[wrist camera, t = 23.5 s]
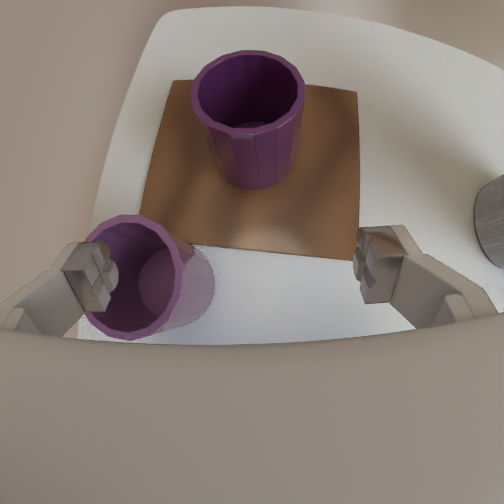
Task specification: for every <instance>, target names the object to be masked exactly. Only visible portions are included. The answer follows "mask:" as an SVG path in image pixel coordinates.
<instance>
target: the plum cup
mask: <svg viewBox="0 0 504 504" xmlns="http://www.w3.org/2000/svg"><path fill="white" fill-rule="evenodd" d="M190 99H191V103H192V106H193V109H194V113H195V115H196V118H197V120H198V122H199V125H200V127H201V130H202V132H203V135H204V137H205V139H206V142H207V144H208V147H209V149H210V152H211V154H212V156H213V159H214V161H215V164H216V166H217V168H218V170H219V171H220V173H221V174H222V176H223V177H224V178H225V179H226V180H227V181H228V182H230V183H231V184H233V185H235V186H237V187H240V188H243V189H248V190H261V189H266V188H269V187H272V186H274V185H276V184H278V183H279V182H281V181H282V180H283V179H284V178H285V177H286V176H287V175H288V174H289V172H290V171H291V169H292V167H293V164H294V161H295V158H296V152H297V146H298V140H299V134H300V128H301V121H302V115H303V109H304V102H305V82H304V80H303V78H302V77H301V75H300V73H299V71H298V70H297V68H296V67H295V66H294V65H292V64H291V63H290V62H288V61H287V60H285V59H284V58H283V57H281V56H278V55H275V54H272V53H269V52H265V51H257V50H242V51H237V52H233V53H230V54H226V55H222V56H220V57H219V58H217V59H215V60H214V61H212V62H211V63H209V64H207V65H206V66H205V67H204V68H203V69H202V70H201V72H200V73H199V74H198V75H197V77H196V78H195V79H194V81H193V85H192V90H191V94H190Z"/></svg>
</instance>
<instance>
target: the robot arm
mask: <svg viewBox="0 0 504 504" xmlns="http://www.w3.org/2000/svg"><path fill="white" fill-rule="evenodd" d="M356 240H357V243H358V245H359V246H358V247H357V248H356V249H355V250H354V256H353V269H354V274H355V277H356V279H357V280H358V281H360V282H361V285H360V291H361V294H362V297H363V300H364V303H365V304H374V303H388V302H390V304H391V305H392V306H393V307H394V308H395V309H396V310H397V311H398V312H399V313H401V314H402V315H403V316H404V317H405V318H406V319H407V320H408V321H409V322H410V323H411V324H412V325H413V326H414V327H415V328H416V329H415V330H408V331H401V332H394V333H387V334H379V335H371V336H363V337H354V338H344V339H333V340H321V341H307V342H291V343H271V344H241V345H170V344H142V343H124V342H109V341H96V340H85V339H73V338H65V337H62V336H63V335H64V334H65V333H66V332H67V331H68V330H69V329H70V328H71V327H72V326H73V325H74V324H75V323H76V322H77V321H78V320H79V319H80V317H81V316H82V315H83V314H84V313H85V312H105V311H106V308H107V306H108V304H109V302H110V299H111V296H110V292H112V291H113V290H114V289H115V288H116V286H117V283H118V276H119V273H118V268H117V265H116V262H115V261H114V260H113V259H111V258H110V254H111V250H110V247H109V245H108V243H106V242H105V241H96V242H81V243H80V242H77V243H70V244H67V246H66V247H65V249H64V250H63V251H62V253H61V254H60V255H59V257H58V258H57V259H56V261H55V263H54V264H53V265H52V267H51V268H50V269H49V271H45V272H44V273H42V274H41V275H39V276H38V277H36V278H35V279H34V280H32V281H31V282H29V283H28V284H27V285H25V286H24V287H22V288H21V289H20V290H18V291H17V292H15V293H14V294H13V295H12V296H10V297H9V298H7V299H6V300H5V301H3V302H2V303H1V304H0V504H504V312H503V313H498V311H497V310H496V308H495V306H494V305H493V303H492V301H491V300H490V298H489V297H488V295H487V293H486V292H485V290H484V289H483V288H482V287H480V286H478V285H477V284H475V283H474V282H472V281H471V280H469V279H467V278H466V277H464V276H463V275H461V274H459V273H458V272H456V271H455V270H453V269H451V268H450V267H448V266H446V265H445V264H443V263H441V262H440V261H438V260H436V259H435V258H433V257H431V256H430V255H428V254H423V253H422V252H421V250H420V249H419V247H418V246H417V244H416V242H415V241H414V239H413V238H412V236H411V235H410V234H409V232H408V231H407V229H406V228H405V226H403V225H392V226H377V227H360V228H358V231H357V235H356Z"/></svg>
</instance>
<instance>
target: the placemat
mask: <svg viewBox="0 0 504 504" xmlns="http://www.w3.org/2000/svg"><path fill="white" fill-rule="evenodd" d="M193 81H194V80H175V81H173V83H172V86H171V90H170V93H169V96H168V99H167V103H166V106H165V109H164V113H163V116H162V120H161V124H160V127H159V131H158V135H157V139H156V142H155V146H154V150H153V154H152V159H151V163H150V167H149V171H148V176H147V180H146V185H145V190H144V195H143V199H142V205H141V210H140V215H142V216H145V217H146V218H148V219H150V220H152V221H154V222H156V223H158V224H160V225H162V226H163V227H165V228H166V229H168V230H169V231H171V232H172V233H174V234H175V235H177V236H178V237H180V238H181V239H183V240H184V241H186V242H187V243H189V244H195V245H205V246H215V247H224V248H234V249H244V250H253V251H263V252H273V253H282V254H292V255H301V256H311V257H320V258H330V259H339V260H349V261H353V256H354V250H355V249H356V248H357V247H358V243H357V240H356V235H357V231H358V228H359V203H360V151H359V122H358V104H357V92H354V91H348V90H342V89H336V88H329V87H322V86H314V85H305V102H304V109H303V115H302V121H301V128H300V134H299V140H298V146H297V152H296V158H295V161H294V164H293V167H292V169H291V171H290V172H289V174H288V175H287V176H286V177H285V178H284V179H283V180H282V181H281V182H279V183H278V184H276V185H274V186H272V187H269V188H266V189H261V190H248V189H243V188H240V187H237V186H235V185H233V184H231V183H230V182H228V181H227V180H226V179H225V178H224V177H223V176H222V174H221V173H220V171H219V170H218V168H217V166H216V164H215V161H214V159H213V156H212V154H211V152H210V149H209V147H208V144H207V142H206V139H205V137H204V135H203V132H202V130H201V127H200V125H199V122H198V120H197V118H196V115H195V113H194V109H193V106H192V103H191V99H190V94H191V90H192V85H193Z"/></svg>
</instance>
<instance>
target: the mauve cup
mask: <svg viewBox="0 0 504 504" xmlns="http://www.w3.org/2000/svg"><path fill="white" fill-rule="evenodd" d="M96 241H105V242H106V243H108V245H109V247H110V250H111V254H110V258H111V259H113V260H114V261H115V262H116V265H117V268H118V273H119V276H118V283H117V286H116V288H115V289H114V290H113V291H112V292H110V296H111V299H110V302H109V304H108V306H107V308H106V311H105V312H85V313H84V314H85V315H86V317H87V318H88V320H89V321H90V323H91V324H92V325H93V326H95V327H96V328H98V329H99V330H100V331H102V332H103V333H104V334H106V335H107V336H109V337H113V338H118V339H123V340H128V341H132V340H136V339H139V338H143V337H147V336H150V335H154V334H157V333H160V332H164V331H167V330H170V329H173V328H177V327H180V326H183V325H186V324H189V323H192V322H193V321H195V320H196V319H198V318H199V317H200V316H201V315H202V314H203V313H204V312H205V311H206V310H207V308H208V306H209V305H210V303H211V300H212V297H213V294H214V275H213V271H212V269H211V266H210V264H209V262H208V261H207V259H206V258H205V257H204V256H203V255H202V254H201V253H200V251H199V250H198V249H196V248H195V247H193V246H192V245H190V244H189V243H187V242H186V241H184V240H183V239H181V238H180V237H178V236H177V235H175V234H174V233H172V232H171V231H169V230H168V229H166V228H165V227H163V226H162V225H160V224H158V223H156V222H154V221H152V220H150V219H148V218H146V217H145V216H142V215H119V216H117V217H115V218H112V219H110V220H107V221H105V222H103V223H101V224H100V225H99V226H98V227H97V228H96V229H95V230H94V231H93V232H92V233H91V234H90V235H89V236H88V237H87V238H86V240H85V242H96Z"/></svg>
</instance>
